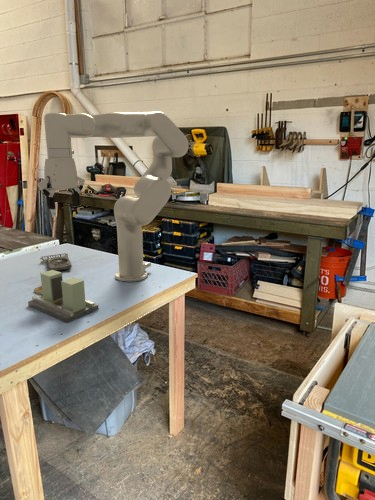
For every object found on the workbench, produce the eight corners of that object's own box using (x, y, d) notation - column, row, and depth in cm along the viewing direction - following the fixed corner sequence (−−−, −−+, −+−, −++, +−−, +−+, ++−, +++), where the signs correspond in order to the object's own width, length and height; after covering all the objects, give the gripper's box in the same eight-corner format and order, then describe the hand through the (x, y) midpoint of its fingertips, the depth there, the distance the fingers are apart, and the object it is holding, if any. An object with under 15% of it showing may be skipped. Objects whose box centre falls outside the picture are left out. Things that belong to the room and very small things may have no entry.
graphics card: (39, 256, 164) (68, 252, 169) (40, 264, 165) (69, 260, 170) (42, 267, 150) (73, 263, 154) (43, 276, 151) (74, 271, 155)
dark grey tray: (60, 294, 131) (59, 287, 130) (98, 309, 120) (98, 301, 119) (28, 305, 122) (27, 298, 121) (67, 323, 110) (66, 314, 109)
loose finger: (55, 294, 126) (52, 269, 124) (65, 299, 123) (63, 273, 120) (43, 299, 123) (40, 273, 120) (53, 303, 120) (50, 277, 117)
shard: (57, 283, 142) (57, 278, 142) (71, 287, 138) (71, 283, 138) (33, 292, 133) (32, 288, 133) (47, 297, 129) (46, 292, 129)
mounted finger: (74, 303, 120) (72, 276, 118) (85, 307, 117) (83, 280, 115) (62, 307, 117) (59, 280, 114) (73, 312, 114) (71, 284, 111)
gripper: (74, 153, 129) (78, 202, 134) (28, 154, 116) (34, 209, 120) (88, 153, 125) (92, 204, 130) (42, 155, 111) (48, 212, 116)
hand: (64, 207), depth 125 cm, fingers open, 9 cm apart
